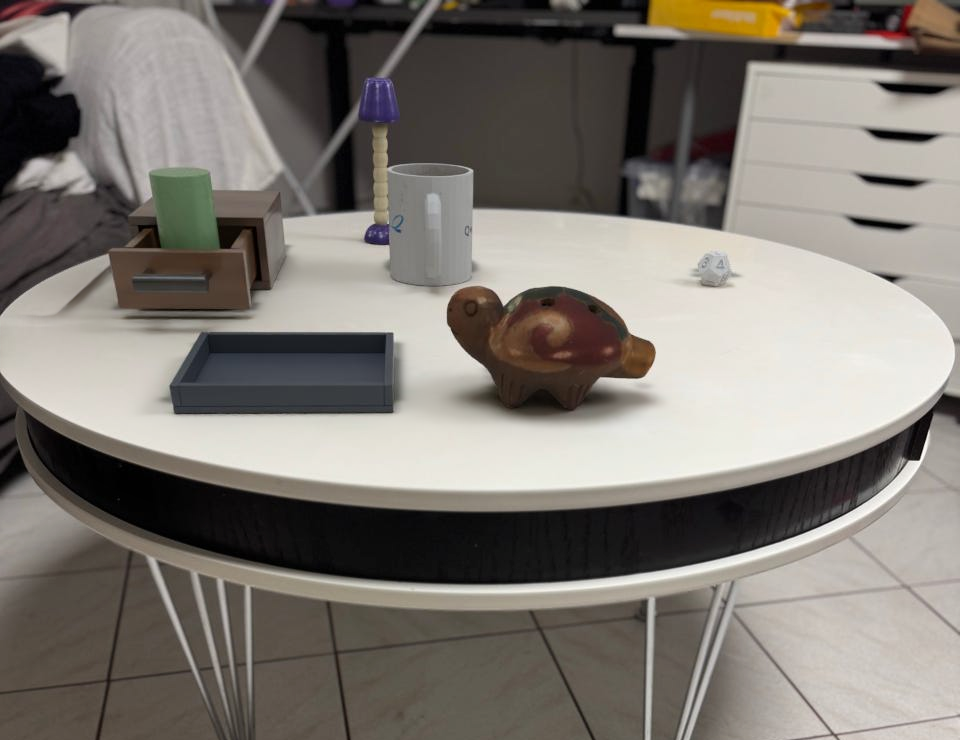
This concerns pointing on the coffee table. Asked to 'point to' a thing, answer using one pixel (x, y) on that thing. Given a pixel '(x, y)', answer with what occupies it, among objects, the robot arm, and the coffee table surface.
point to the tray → (286, 373)
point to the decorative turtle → (546, 341)
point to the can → (184, 208)
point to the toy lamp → (379, 148)
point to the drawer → (186, 272)
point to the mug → (430, 223)
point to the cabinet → (239, 212)
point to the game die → (714, 268)
